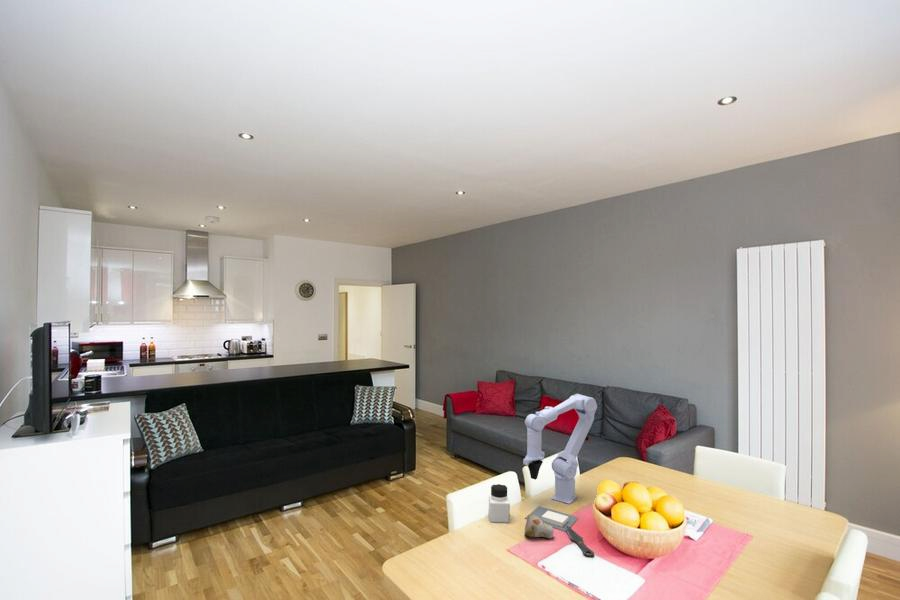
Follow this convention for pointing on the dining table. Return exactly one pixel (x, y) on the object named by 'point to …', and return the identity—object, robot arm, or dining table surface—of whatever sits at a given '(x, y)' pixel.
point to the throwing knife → (579, 541)
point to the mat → (542, 510)
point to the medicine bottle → (499, 504)
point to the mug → (537, 528)
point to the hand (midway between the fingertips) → (534, 478)
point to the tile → (555, 518)
